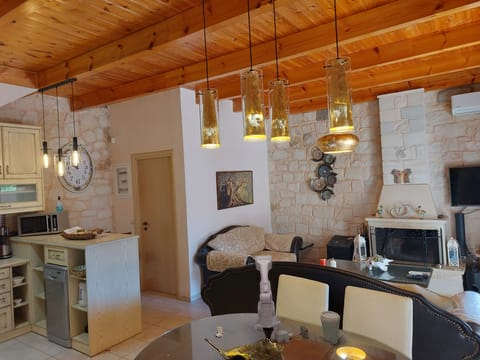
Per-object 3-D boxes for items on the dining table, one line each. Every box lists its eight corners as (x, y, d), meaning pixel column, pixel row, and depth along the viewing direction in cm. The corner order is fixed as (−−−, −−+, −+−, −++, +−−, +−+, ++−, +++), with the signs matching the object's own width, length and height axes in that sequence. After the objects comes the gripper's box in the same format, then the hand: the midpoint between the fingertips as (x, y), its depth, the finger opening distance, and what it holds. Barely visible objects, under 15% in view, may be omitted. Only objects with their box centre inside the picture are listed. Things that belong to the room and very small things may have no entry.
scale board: (279, 348, 176) (278, 336, 176) (271, 339, 187) (271, 328, 188) (311, 343, 180) (310, 331, 180) (301, 334, 192) (301, 323, 192)
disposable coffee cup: (344, 339, 182) (342, 311, 183) (338, 348, 173) (337, 318, 174) (324, 336, 188) (323, 309, 188) (318, 344, 178) (316, 315, 179)
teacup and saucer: (220, 339, 192) (219, 332, 192) (209, 336, 197) (209, 329, 197) (229, 333, 199) (229, 326, 199) (219, 330, 204) (219, 323, 204)
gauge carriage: (280, 344, 177) (279, 337, 177) (275, 339, 184) (275, 331, 184) (296, 342, 179) (295, 334, 179) (291, 336, 186) (290, 329, 186)
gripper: (256, 319, 175) (257, 346, 175) (282, 316, 179) (283, 342, 178) (252, 315, 182) (253, 340, 182) (277, 311, 186) (279, 336, 185)
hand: (268, 341), depth 181 cm, fingers closed
